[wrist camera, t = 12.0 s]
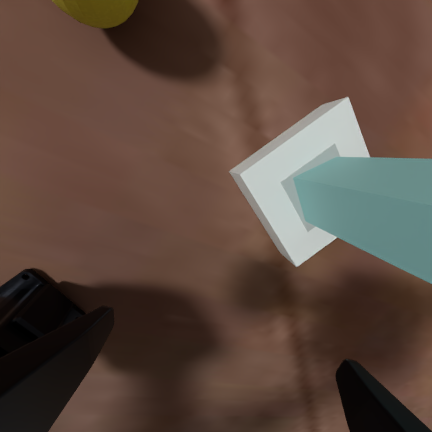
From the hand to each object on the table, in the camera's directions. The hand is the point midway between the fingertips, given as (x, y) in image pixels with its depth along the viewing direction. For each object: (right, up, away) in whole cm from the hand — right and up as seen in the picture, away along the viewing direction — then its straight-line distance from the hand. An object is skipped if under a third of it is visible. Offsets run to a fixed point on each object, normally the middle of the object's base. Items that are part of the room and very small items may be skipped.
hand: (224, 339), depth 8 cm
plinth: (+8, +8, +12) cm, 16 cm away
